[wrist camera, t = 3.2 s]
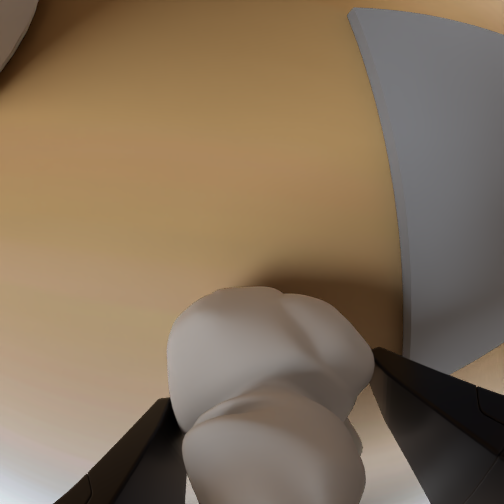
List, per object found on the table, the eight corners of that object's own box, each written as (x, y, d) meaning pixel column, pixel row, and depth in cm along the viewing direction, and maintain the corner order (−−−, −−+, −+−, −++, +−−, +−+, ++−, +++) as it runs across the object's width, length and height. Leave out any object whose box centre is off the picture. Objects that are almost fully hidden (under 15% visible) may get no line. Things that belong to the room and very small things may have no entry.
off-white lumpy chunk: (264, 218, 8) (440, 520, 1) (379, 354, 10) (494, 526, 2) (137, 331, 9) (41, 563, 1) (267, 431, 11) (295, 609, 3)
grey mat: (536, 309, 11) (542, 313, 10) (400, 386, 11) (406, 395, 10) (518, 45, 7) (526, 43, 6) (347, 15, 7) (353, 7, 6)
